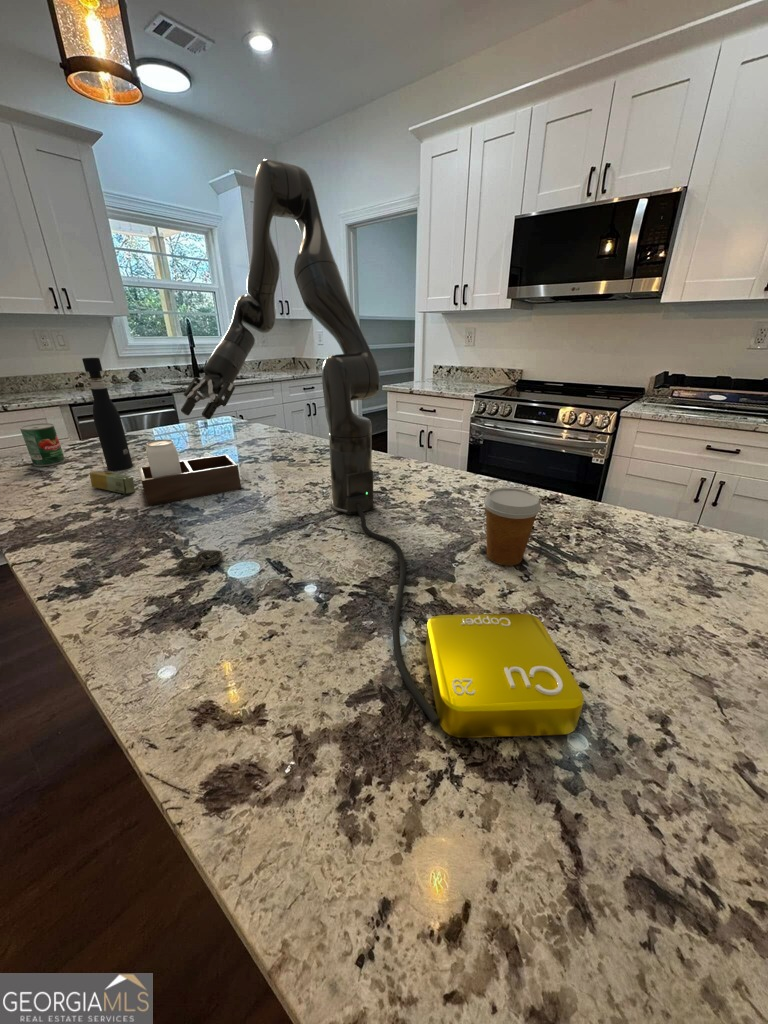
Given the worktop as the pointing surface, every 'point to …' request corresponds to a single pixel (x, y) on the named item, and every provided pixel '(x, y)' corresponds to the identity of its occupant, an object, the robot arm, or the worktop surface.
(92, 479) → the medication box
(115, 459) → the black water bottle
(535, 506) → the disposable coffee cup
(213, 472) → the caddy
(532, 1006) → the worktop surface
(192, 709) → the worktop surface
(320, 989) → the worktop surface
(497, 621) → the element tile
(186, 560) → the corroded twin loop
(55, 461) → the canned tomato
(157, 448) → the can
